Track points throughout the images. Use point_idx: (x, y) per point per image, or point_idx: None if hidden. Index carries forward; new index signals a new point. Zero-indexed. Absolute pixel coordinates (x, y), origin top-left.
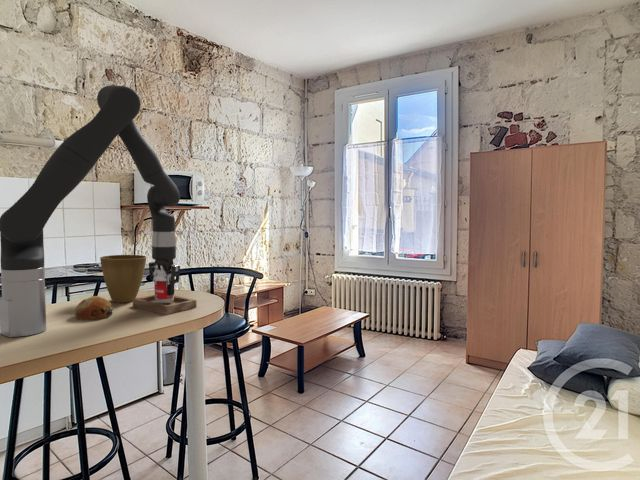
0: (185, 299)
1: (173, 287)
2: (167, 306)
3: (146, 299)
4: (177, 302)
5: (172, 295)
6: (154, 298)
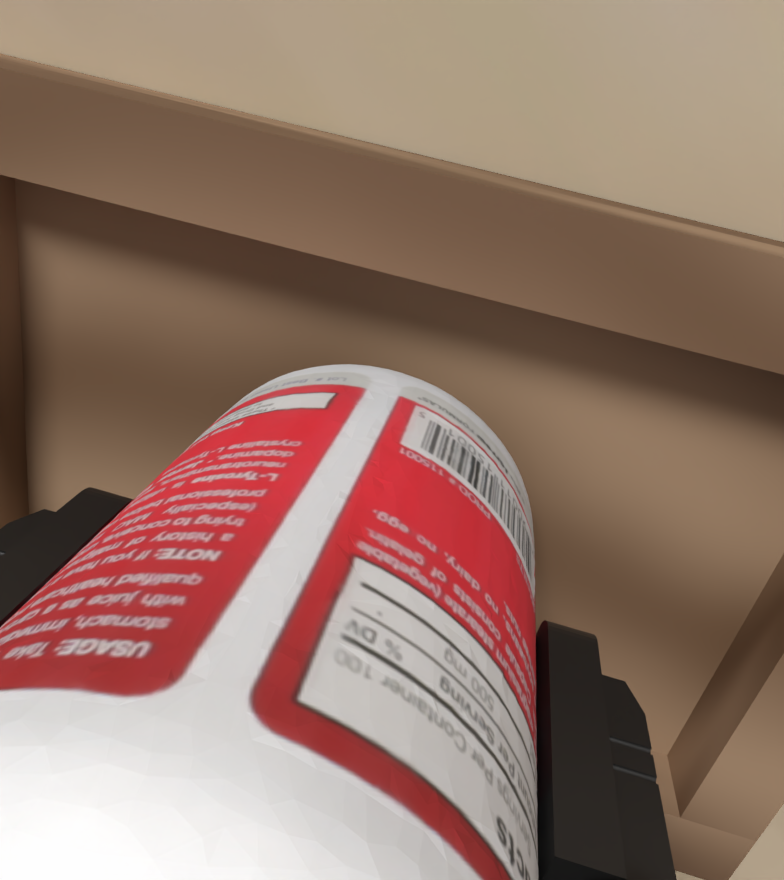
0: (764, 368)
1: (653, 847)
2: (734, 865)
3: (2, 485)
4: (515, 320)
5: (533, 585)
6: (2, 342)
